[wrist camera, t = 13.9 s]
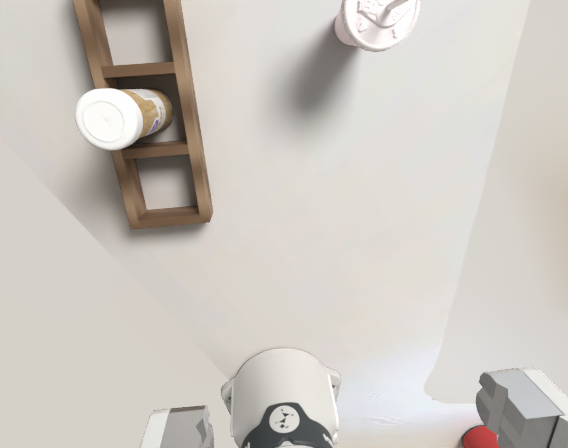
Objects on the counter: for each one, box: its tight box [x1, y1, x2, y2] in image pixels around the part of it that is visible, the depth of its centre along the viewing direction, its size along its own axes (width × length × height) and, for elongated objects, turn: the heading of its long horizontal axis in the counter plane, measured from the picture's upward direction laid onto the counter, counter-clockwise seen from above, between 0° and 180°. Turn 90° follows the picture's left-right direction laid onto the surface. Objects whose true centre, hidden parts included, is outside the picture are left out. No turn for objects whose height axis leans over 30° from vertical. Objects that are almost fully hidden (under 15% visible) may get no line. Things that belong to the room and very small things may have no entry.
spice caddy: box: [73, 0, 213, 229], centre depth 37 cm, size 25×9×4 cm, turn 4°
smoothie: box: [335, 0, 420, 52], centre depth 30 cm, size 6×6×14 cm
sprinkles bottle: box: [75, 88, 173, 150], centre depth 32 cm, size 5×5×14 cm
